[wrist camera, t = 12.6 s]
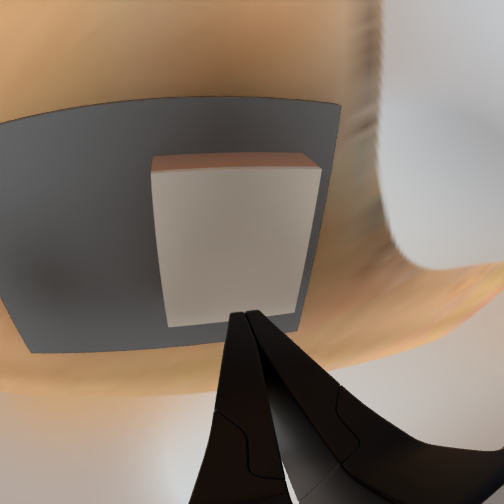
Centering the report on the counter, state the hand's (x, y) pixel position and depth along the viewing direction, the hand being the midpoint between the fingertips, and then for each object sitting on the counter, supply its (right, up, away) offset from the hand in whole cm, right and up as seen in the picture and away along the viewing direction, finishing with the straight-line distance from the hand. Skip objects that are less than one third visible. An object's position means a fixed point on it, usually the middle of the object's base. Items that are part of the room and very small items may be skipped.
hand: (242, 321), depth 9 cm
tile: (-3, +2, +2) cm, 4 cm away
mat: (-4, +2, +3) cm, 5 cm away
